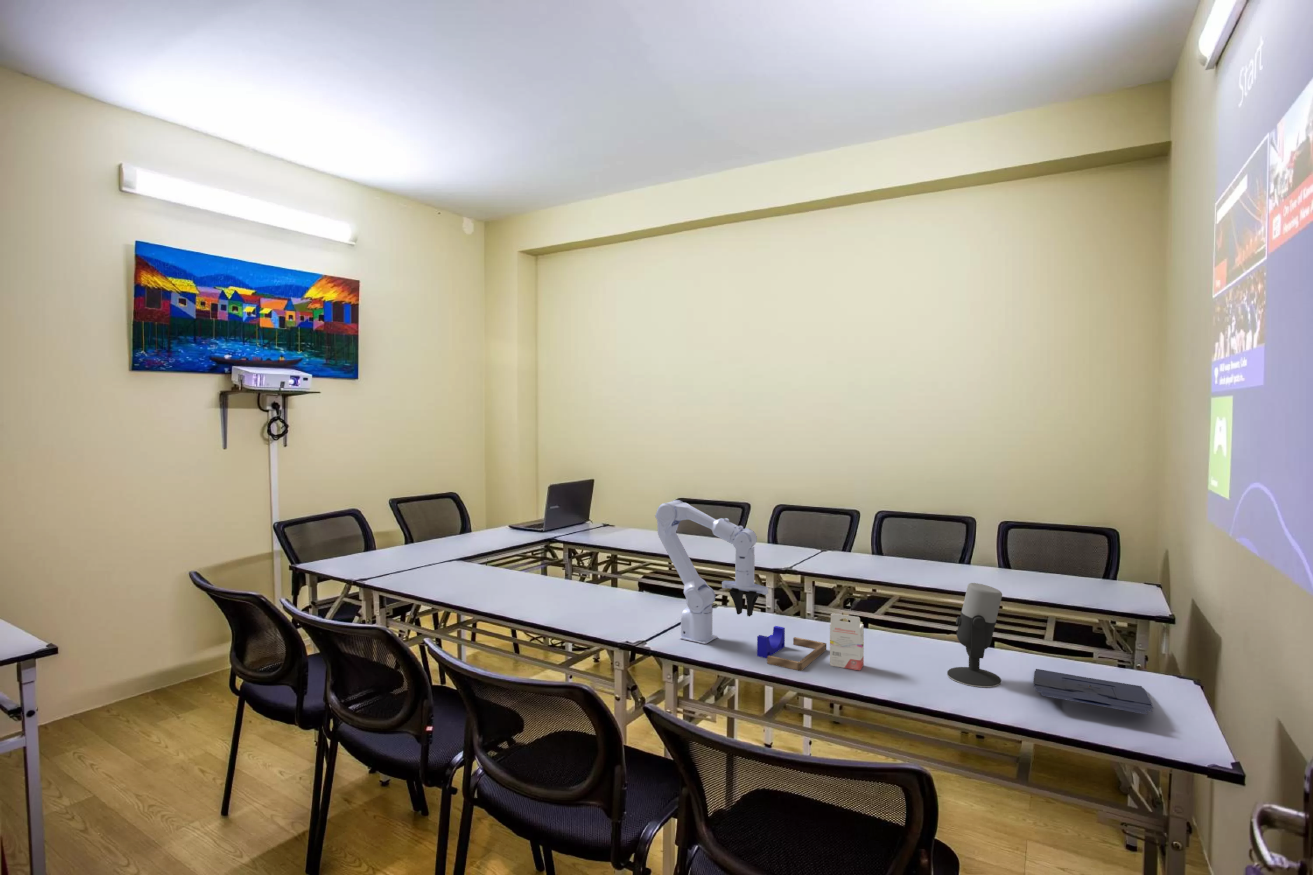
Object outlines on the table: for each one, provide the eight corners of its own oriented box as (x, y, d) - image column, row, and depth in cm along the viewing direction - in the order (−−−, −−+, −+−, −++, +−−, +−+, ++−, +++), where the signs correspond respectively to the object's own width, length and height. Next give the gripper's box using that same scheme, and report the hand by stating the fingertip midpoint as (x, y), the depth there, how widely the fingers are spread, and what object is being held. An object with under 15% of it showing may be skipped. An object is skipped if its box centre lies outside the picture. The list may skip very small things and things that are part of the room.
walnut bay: (767, 663, 192) (767, 656, 192) (794, 643, 209) (794, 636, 209) (801, 670, 187) (801, 663, 187) (826, 649, 203) (826, 643, 203)
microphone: (1006, 689, 174) (1008, 592, 173) (951, 684, 177) (953, 588, 177) (995, 671, 187) (996, 580, 186) (943, 666, 190) (945, 577, 189)
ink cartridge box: (864, 665, 191) (864, 612, 190) (860, 671, 187) (861, 617, 186) (833, 659, 195) (833, 608, 194) (829, 665, 191) (829, 613, 190)
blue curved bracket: (771, 644, 209) (771, 624, 208) (784, 647, 206) (784, 627, 206) (752, 655, 199) (752, 635, 199) (766, 658, 196) (766, 638, 196)
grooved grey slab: (1031, 705, 162) (1031, 689, 162) (1034, 678, 188) (1034, 665, 188) (1158, 729, 150) (1158, 712, 150) (1142, 697, 176) (1142, 682, 176)
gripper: (772, 570, 206) (772, 615, 206) (729, 564, 214) (729, 607, 214) (762, 574, 200) (762, 621, 200) (718, 568, 208) (718, 613, 208)
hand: (744, 614), depth 207 cm, fingers open, 3 cm apart
